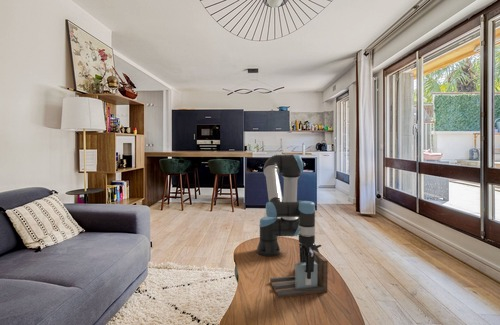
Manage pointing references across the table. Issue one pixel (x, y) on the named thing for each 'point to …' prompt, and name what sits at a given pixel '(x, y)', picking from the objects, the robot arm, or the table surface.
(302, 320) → the table surface
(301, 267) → the pale grey rectangular block
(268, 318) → the table surface
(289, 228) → the robot arm
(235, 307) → the table surface
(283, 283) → the track sill
